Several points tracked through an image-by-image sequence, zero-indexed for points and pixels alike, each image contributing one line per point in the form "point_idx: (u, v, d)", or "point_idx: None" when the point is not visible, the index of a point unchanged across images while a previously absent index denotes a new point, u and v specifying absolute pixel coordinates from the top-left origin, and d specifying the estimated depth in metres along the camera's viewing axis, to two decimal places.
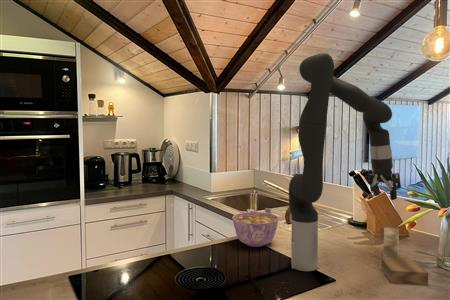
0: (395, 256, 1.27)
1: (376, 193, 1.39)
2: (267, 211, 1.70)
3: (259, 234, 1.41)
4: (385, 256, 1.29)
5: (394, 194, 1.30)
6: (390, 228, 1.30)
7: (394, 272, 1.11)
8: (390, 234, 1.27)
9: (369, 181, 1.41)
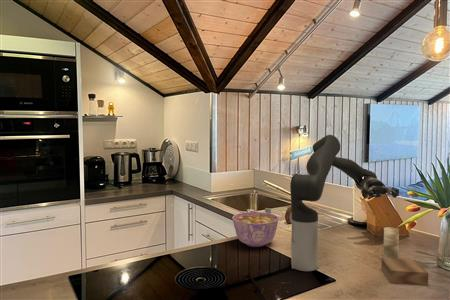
0: (395, 256, 1.27)
1: None
2: (267, 211, 1.70)
3: (259, 234, 1.41)
4: (385, 256, 1.29)
5: None
6: (390, 228, 1.30)
7: (394, 272, 1.11)
8: (390, 234, 1.27)
9: (364, 189, 1.46)
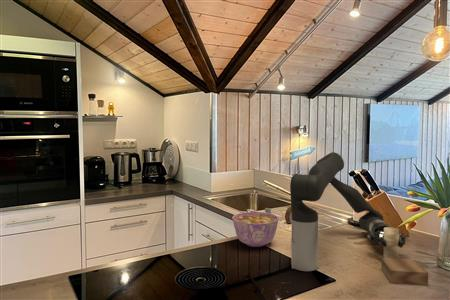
0: (395, 256, 1.27)
1: None
2: (267, 211, 1.70)
3: (259, 234, 1.41)
4: (385, 256, 1.29)
5: None
6: (390, 228, 1.30)
7: (394, 272, 1.11)
8: (390, 234, 1.27)
9: (375, 236, 1.33)
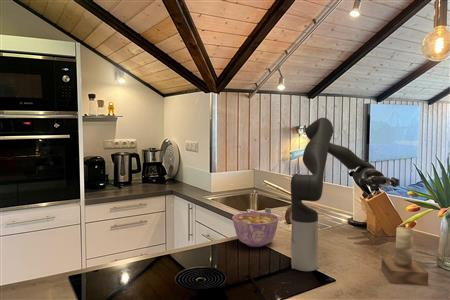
0: (409, 259, 1.13)
1: None
2: (267, 211, 1.70)
3: (259, 234, 1.41)
4: (397, 260, 1.15)
5: None
6: (403, 228, 1.16)
7: (394, 272, 1.11)
8: (404, 235, 1.13)
9: (362, 178, 1.39)
